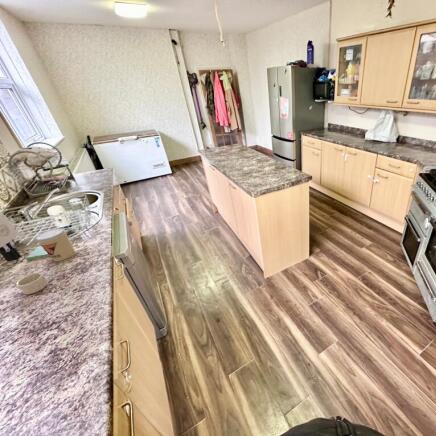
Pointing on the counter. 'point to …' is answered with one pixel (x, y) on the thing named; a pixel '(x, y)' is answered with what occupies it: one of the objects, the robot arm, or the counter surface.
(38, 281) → the bowl
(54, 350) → the counter surface
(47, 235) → the coffee cup
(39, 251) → the light green flat piece
